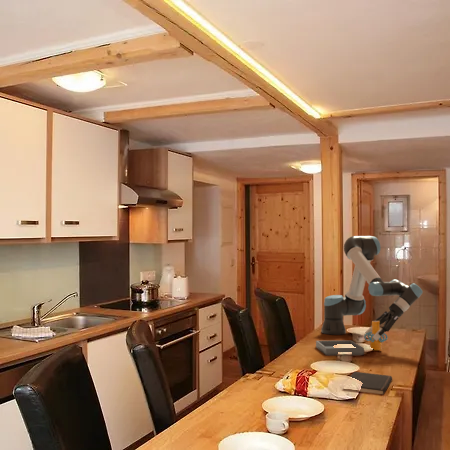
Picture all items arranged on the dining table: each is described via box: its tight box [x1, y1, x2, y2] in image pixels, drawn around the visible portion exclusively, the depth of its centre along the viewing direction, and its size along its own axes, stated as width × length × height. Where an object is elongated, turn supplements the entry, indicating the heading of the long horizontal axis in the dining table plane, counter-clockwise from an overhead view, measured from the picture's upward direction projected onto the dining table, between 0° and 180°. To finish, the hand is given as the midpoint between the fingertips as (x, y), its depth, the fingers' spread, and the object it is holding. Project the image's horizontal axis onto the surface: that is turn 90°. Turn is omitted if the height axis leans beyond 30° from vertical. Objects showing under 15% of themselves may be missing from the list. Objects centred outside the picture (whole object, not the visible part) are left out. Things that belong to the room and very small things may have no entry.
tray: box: [315, 339, 365, 356], centre depth 280 cm, size 20×20×4 cm
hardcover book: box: [349, 371, 393, 396], centre depth 216 cm, size 16×23×2 cm
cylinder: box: [363, 320, 388, 351], centre depth 281 cm, size 12×10×15 cm
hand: (370, 336), depth 281 cm, fingers closed on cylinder, 11 cm apart
